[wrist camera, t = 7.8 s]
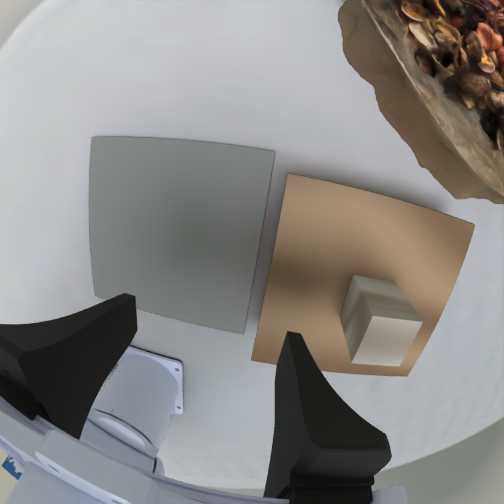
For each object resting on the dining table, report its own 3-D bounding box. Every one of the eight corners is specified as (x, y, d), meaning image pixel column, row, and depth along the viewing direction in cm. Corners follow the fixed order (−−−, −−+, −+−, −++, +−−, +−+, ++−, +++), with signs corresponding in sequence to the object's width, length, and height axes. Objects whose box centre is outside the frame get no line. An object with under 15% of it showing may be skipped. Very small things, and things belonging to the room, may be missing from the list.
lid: (405, 371, 19) (422, 416, 14) (252, 355, 20) (242, 407, 15) (470, 222, 14) (516, 248, 10) (287, 172, 15) (289, 182, 10)
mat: (244, 330, 24) (243, 334, 23) (97, 293, 25) (95, 295, 24) (275, 151, 18) (275, 151, 18) (95, 136, 19) (91, 137, 19)
